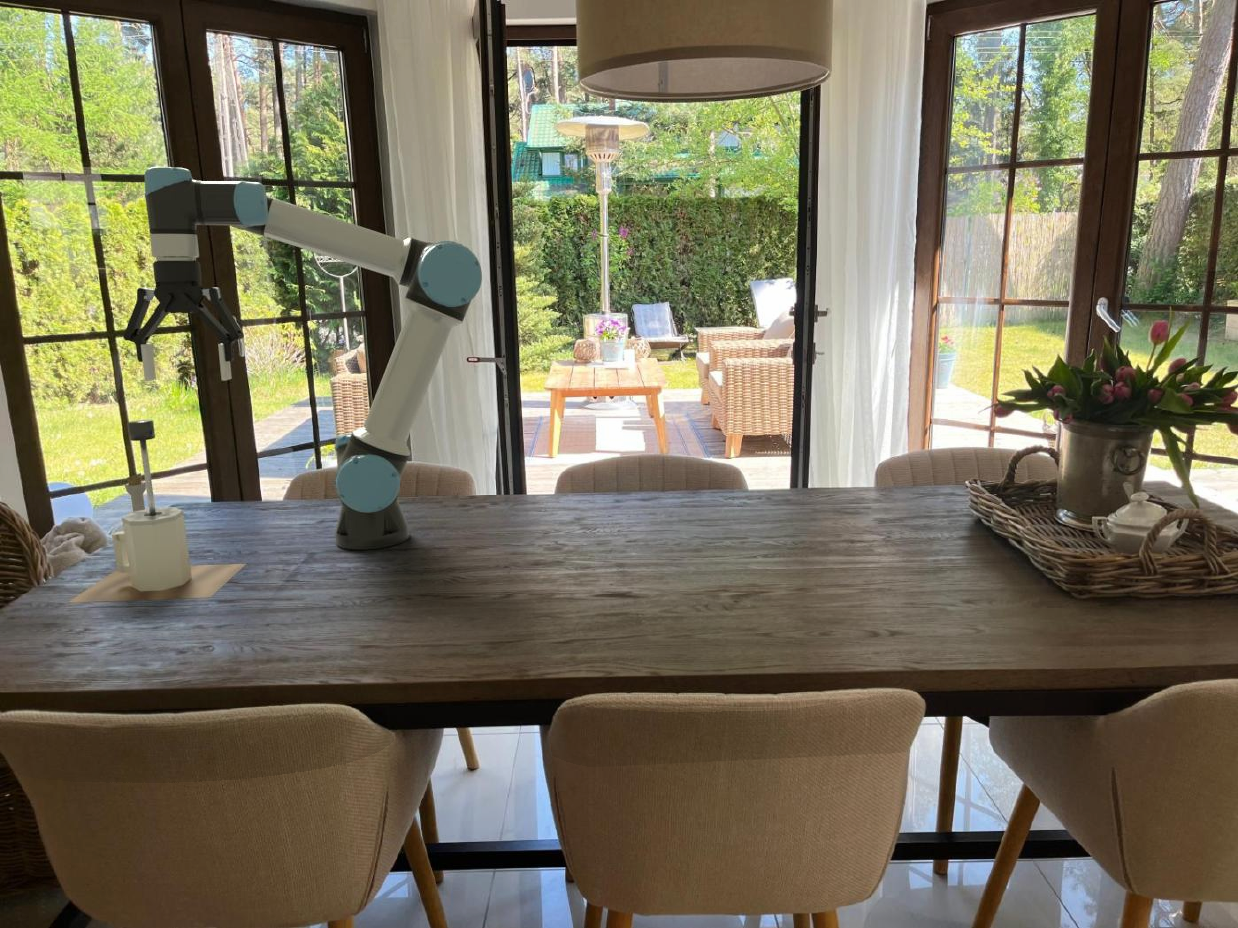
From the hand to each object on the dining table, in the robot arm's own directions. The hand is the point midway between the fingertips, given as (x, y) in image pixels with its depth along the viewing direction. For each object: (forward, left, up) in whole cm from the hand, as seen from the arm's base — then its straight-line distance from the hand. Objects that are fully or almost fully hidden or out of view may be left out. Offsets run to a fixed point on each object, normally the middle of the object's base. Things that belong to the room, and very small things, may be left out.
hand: (188, 380), depth 164 cm
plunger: (+6, +7, -26) cm, 28 cm away
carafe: (+7, +7, -36) cm, 37 cm away
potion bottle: (+17, -11, -37) cm, 42 cm away
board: (+6, +7, -37) cm, 38 cm away
